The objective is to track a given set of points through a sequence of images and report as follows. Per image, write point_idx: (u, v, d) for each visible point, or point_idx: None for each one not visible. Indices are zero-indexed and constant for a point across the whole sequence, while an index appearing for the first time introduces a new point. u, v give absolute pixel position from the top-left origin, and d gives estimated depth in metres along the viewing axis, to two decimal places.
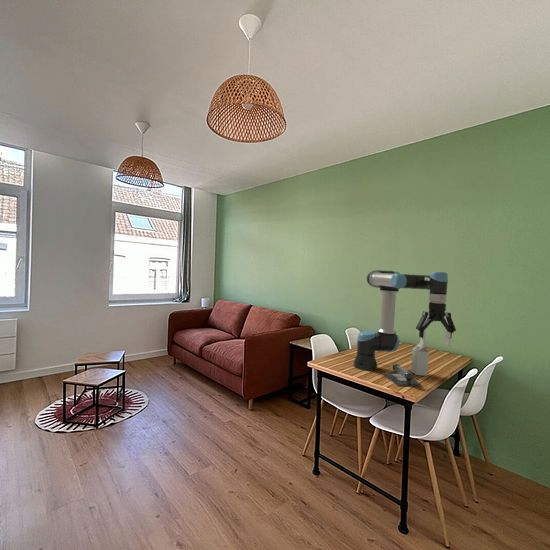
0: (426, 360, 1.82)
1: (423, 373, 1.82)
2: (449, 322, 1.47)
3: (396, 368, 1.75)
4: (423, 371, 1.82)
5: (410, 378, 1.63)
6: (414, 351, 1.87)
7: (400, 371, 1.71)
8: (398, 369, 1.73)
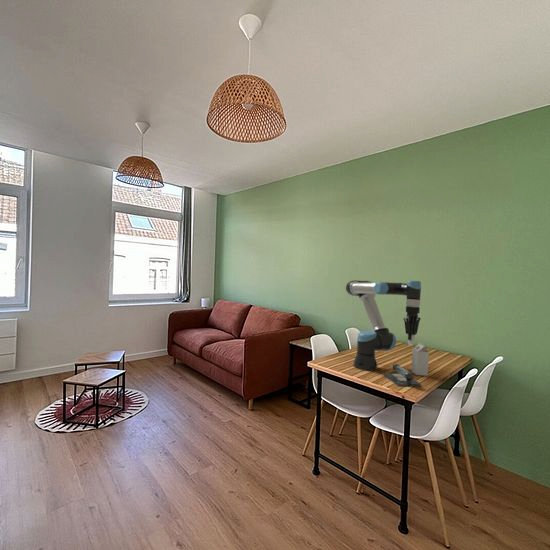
0: (426, 360, 1.82)
1: (423, 373, 1.82)
2: None
3: (396, 368, 1.75)
4: (423, 371, 1.82)
5: (410, 378, 1.63)
6: (414, 351, 1.87)
7: (400, 371, 1.71)
8: (398, 369, 1.73)
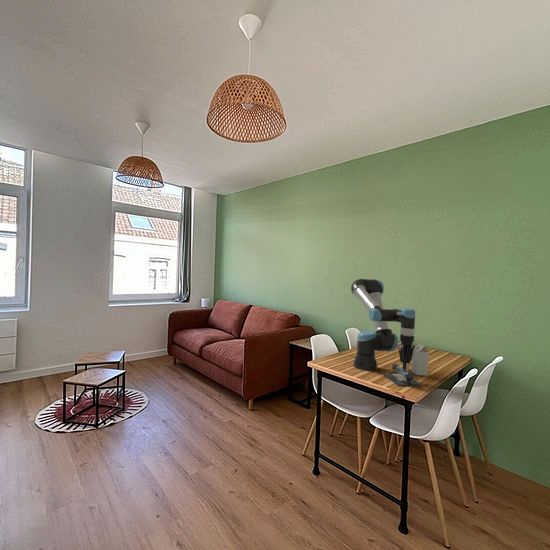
0: (426, 360, 1.82)
1: (423, 373, 1.82)
2: None
3: (396, 368, 1.75)
4: (423, 371, 1.82)
5: (410, 378, 1.63)
6: (414, 351, 1.87)
7: (400, 371, 1.71)
8: (398, 369, 1.73)
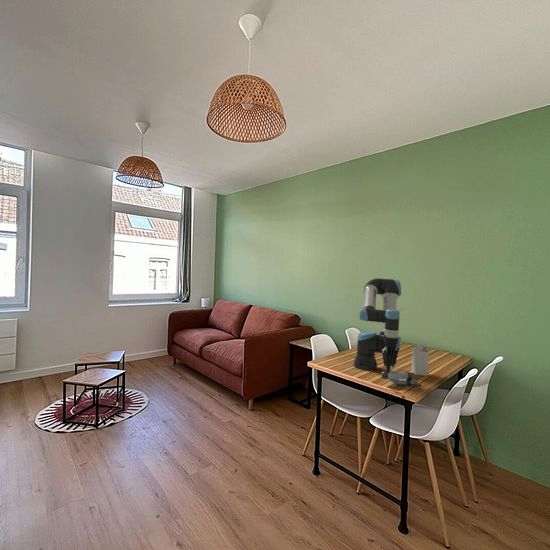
0: (426, 360, 1.82)
1: (423, 373, 1.82)
2: None
3: (391, 375, 1.63)
4: (423, 371, 1.82)
5: None
6: (414, 351, 1.87)
7: (399, 376, 1.63)
8: (395, 375, 1.63)
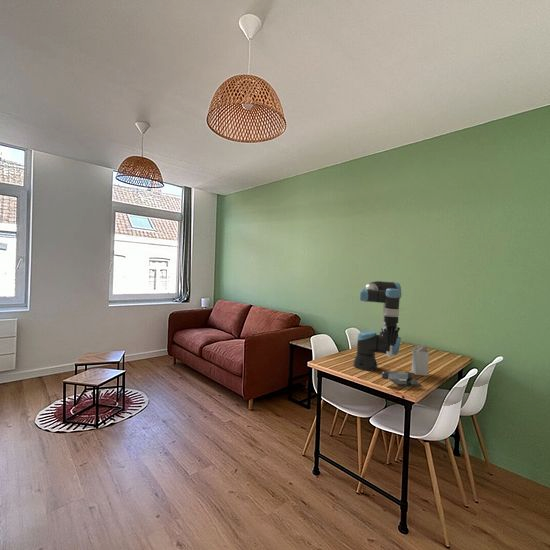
0: (426, 360, 1.82)
1: (423, 373, 1.82)
2: None
3: (392, 375, 1.62)
4: (423, 371, 1.82)
5: None
6: (414, 351, 1.87)
7: (399, 376, 1.63)
8: (396, 375, 1.63)
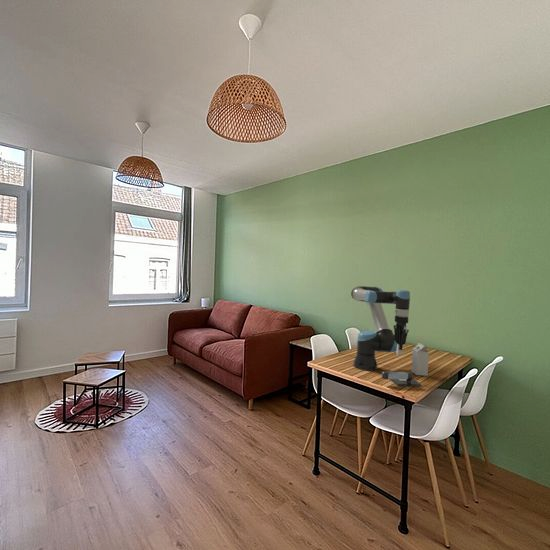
0: (426, 360, 1.82)
1: (423, 373, 1.82)
2: None
3: (392, 375, 1.62)
4: (423, 371, 1.82)
5: None
6: (414, 351, 1.87)
7: (399, 376, 1.63)
8: (396, 375, 1.63)
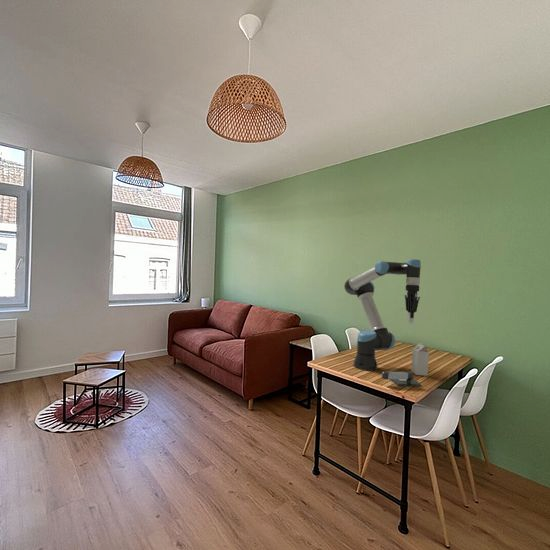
0: (426, 360, 1.82)
1: (423, 373, 1.82)
2: None
3: (392, 375, 1.62)
4: (423, 371, 1.82)
5: None
6: (414, 351, 1.87)
7: (399, 376, 1.63)
8: (396, 375, 1.63)
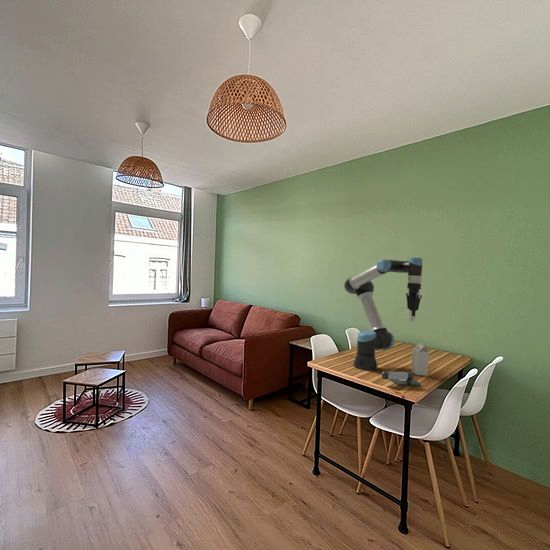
0: (426, 360, 1.82)
1: (423, 373, 1.82)
2: None
3: (392, 375, 1.62)
4: (423, 371, 1.82)
5: None
6: (414, 351, 1.87)
7: (399, 376, 1.63)
8: (396, 375, 1.63)
